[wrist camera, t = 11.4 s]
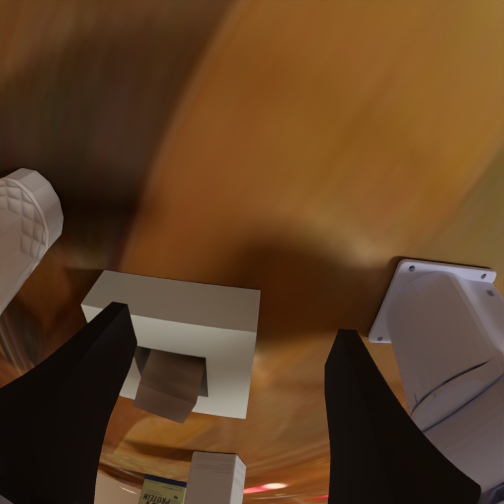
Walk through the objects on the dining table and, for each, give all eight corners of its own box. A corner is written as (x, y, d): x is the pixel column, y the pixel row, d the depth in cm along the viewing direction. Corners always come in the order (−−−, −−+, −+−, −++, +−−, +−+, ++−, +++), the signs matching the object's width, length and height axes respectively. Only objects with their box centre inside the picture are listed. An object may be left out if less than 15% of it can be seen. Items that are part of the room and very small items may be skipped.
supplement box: (192, 450, 41) (178, 519, 31) (237, 453, 40) (228, 526, 30) (205, 464, 45) (195, 525, 35) (247, 466, 44) (239, 530, 34)
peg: (212, 330, 25) (196, 404, 19) (198, 355, 27) (182, 423, 21) (166, 312, 24) (138, 383, 18) (156, 340, 26) (132, 405, 20)
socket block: (260, 290, 22) (256, 332, 18) (249, 383, 28) (245, 418, 25) (104, 270, 22) (80, 304, 19) (131, 364, 29) (119, 395, 25)
